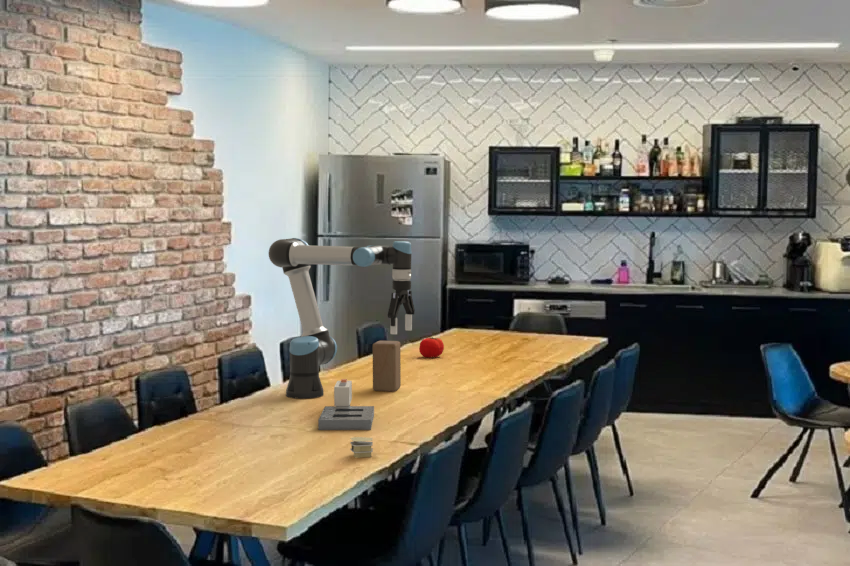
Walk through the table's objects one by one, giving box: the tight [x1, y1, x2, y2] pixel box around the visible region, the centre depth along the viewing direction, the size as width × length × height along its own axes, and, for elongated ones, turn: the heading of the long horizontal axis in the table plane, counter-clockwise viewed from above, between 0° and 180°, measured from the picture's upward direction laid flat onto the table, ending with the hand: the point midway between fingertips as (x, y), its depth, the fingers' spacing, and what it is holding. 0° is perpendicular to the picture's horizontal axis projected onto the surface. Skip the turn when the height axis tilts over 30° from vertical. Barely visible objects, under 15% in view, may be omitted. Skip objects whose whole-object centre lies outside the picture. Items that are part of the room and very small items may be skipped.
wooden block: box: [372, 340, 402, 392], centre depth 435 cm, size 10×10×20 cm
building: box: [349, 436, 374, 459], centre depth 322 cm, size 10×9×6 cm
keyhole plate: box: [317, 405, 375, 431], centre depth 370 cm, size 18×24×4 cm
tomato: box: [419, 337, 445, 358], centre depth 525 cm, size 11×13×10 cm
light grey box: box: [333, 378, 353, 406], centre depth 391 cm, size 6×14×11 cm, turn 0°
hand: (401, 332), depth 420 cm, fingers open, 13 cm apart
